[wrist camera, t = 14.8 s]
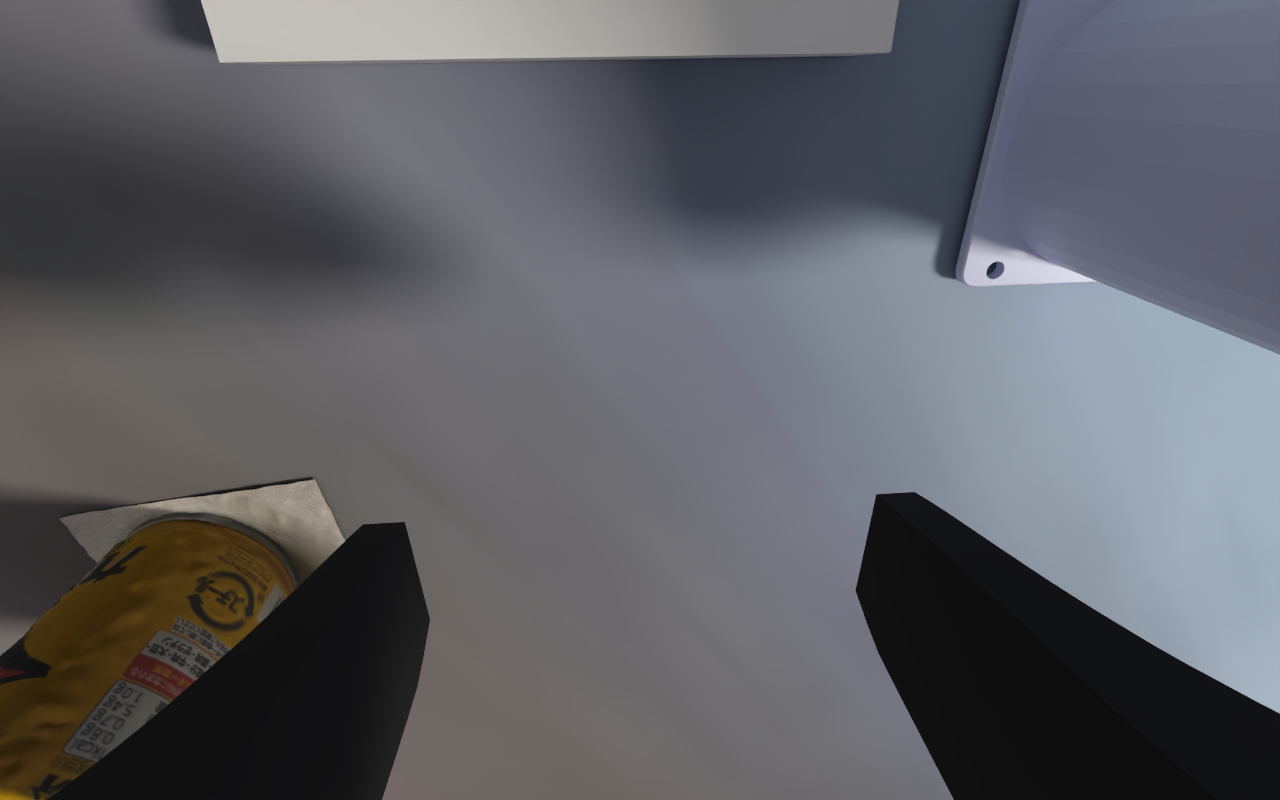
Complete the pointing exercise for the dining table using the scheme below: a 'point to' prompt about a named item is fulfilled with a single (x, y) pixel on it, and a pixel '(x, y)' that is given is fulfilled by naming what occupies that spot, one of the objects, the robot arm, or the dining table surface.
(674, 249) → the dining table surface
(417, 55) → the socket
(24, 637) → the yellow metal cylinder
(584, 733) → the dining table surface
